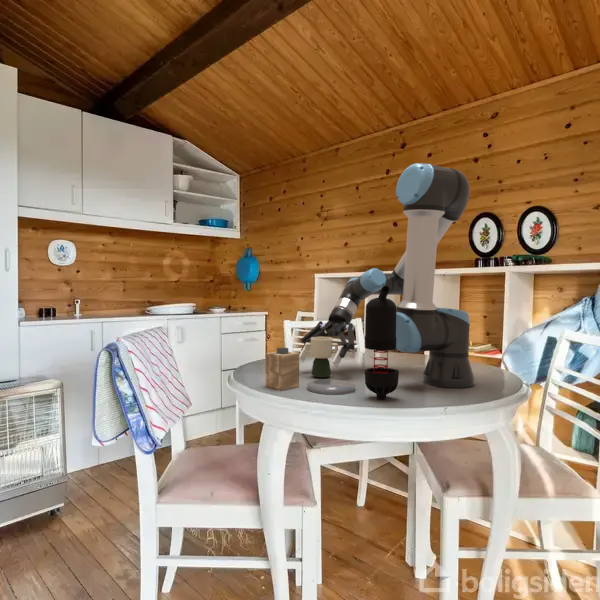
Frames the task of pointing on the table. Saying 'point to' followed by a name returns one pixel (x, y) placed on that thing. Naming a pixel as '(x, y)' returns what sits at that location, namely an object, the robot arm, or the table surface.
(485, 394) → the table surface
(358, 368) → the table surface
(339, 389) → the coaster
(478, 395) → the table surface
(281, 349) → the dark grey tall cylinder
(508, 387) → the table surface
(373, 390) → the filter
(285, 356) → the block
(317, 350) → the character mug
